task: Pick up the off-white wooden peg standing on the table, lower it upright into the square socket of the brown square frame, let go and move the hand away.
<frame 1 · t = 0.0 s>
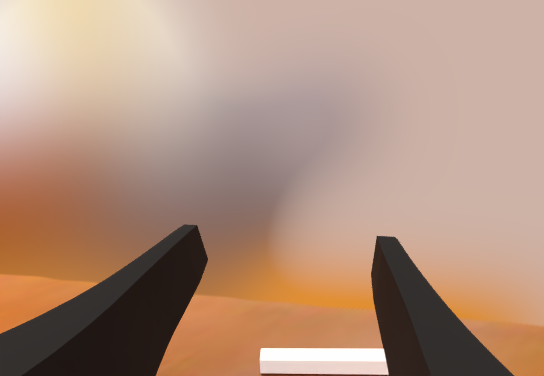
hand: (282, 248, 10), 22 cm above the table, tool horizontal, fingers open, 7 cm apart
marker: (338, 368, 27), on the table
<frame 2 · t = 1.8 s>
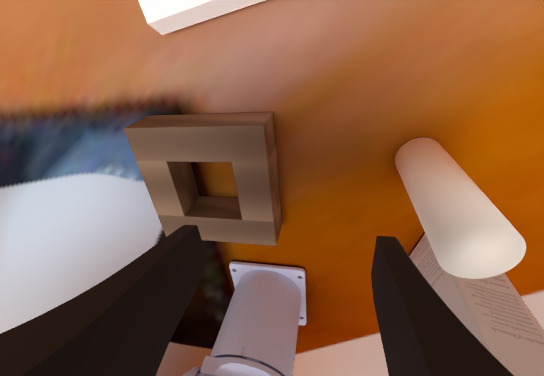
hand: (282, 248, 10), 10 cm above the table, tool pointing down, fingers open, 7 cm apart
brown square frame: (220, 172, 22), on the table
skincare box: (433, 252, 22), on the table
peg: (418, 158, 18), on the table
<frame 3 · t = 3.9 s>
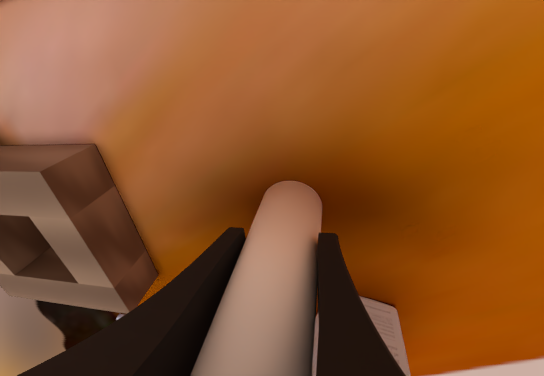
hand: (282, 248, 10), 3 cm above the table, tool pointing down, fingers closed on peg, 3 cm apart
brown square frame: (66, 216, 17), on the table
skincare box: (345, 316, 17), on the table
peg: (291, 206, 13), on the table, touching gripper
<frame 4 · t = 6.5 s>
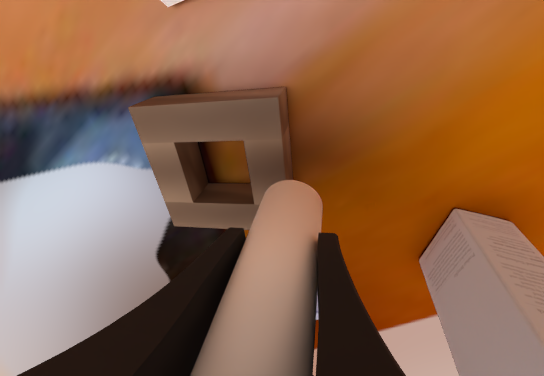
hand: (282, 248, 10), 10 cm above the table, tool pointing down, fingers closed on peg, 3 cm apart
brown square frame: (229, 156, 21), on the table
skincare box: (457, 237, 21), on the table
peg: (291, 205, 13), point 7 cm above the table, touching gripper
when the fingers open (4 cm above the table, at t = 9.0 s): peg drops 1 cm, resting in brown square frame.
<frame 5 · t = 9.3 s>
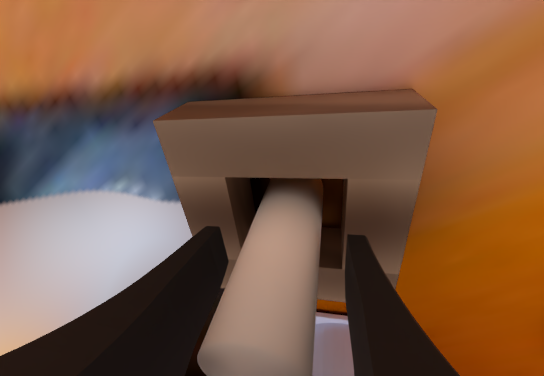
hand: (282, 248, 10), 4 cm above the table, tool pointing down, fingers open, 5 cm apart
brown square frame: (295, 190, 14), on the table
peg: (295, 189, 14), resting in brown square frame
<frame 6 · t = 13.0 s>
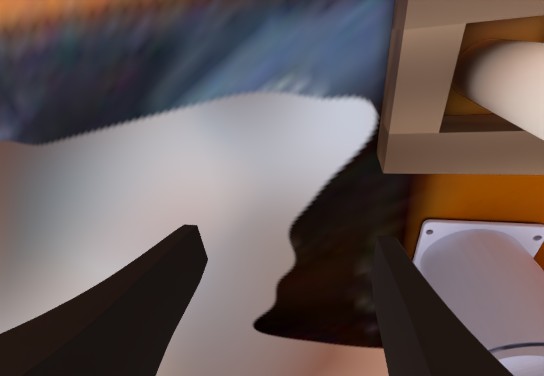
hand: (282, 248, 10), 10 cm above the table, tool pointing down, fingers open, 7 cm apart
brown square frame: (481, 70, 14), on the table
peg: (481, 69, 14), resting in brown square frame
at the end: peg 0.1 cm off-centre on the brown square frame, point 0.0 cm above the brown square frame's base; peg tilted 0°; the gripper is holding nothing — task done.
